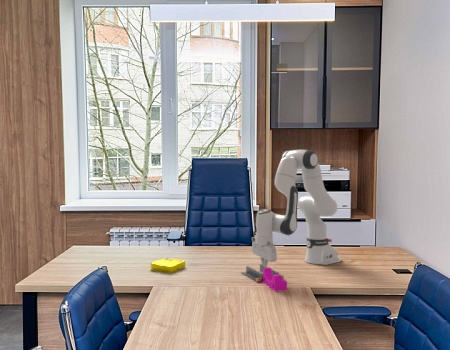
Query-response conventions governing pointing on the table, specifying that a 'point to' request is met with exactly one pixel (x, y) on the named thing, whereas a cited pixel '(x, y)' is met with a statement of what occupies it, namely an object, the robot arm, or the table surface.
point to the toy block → (274, 280)
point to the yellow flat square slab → (168, 265)
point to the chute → (257, 273)
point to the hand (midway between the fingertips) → (264, 265)
